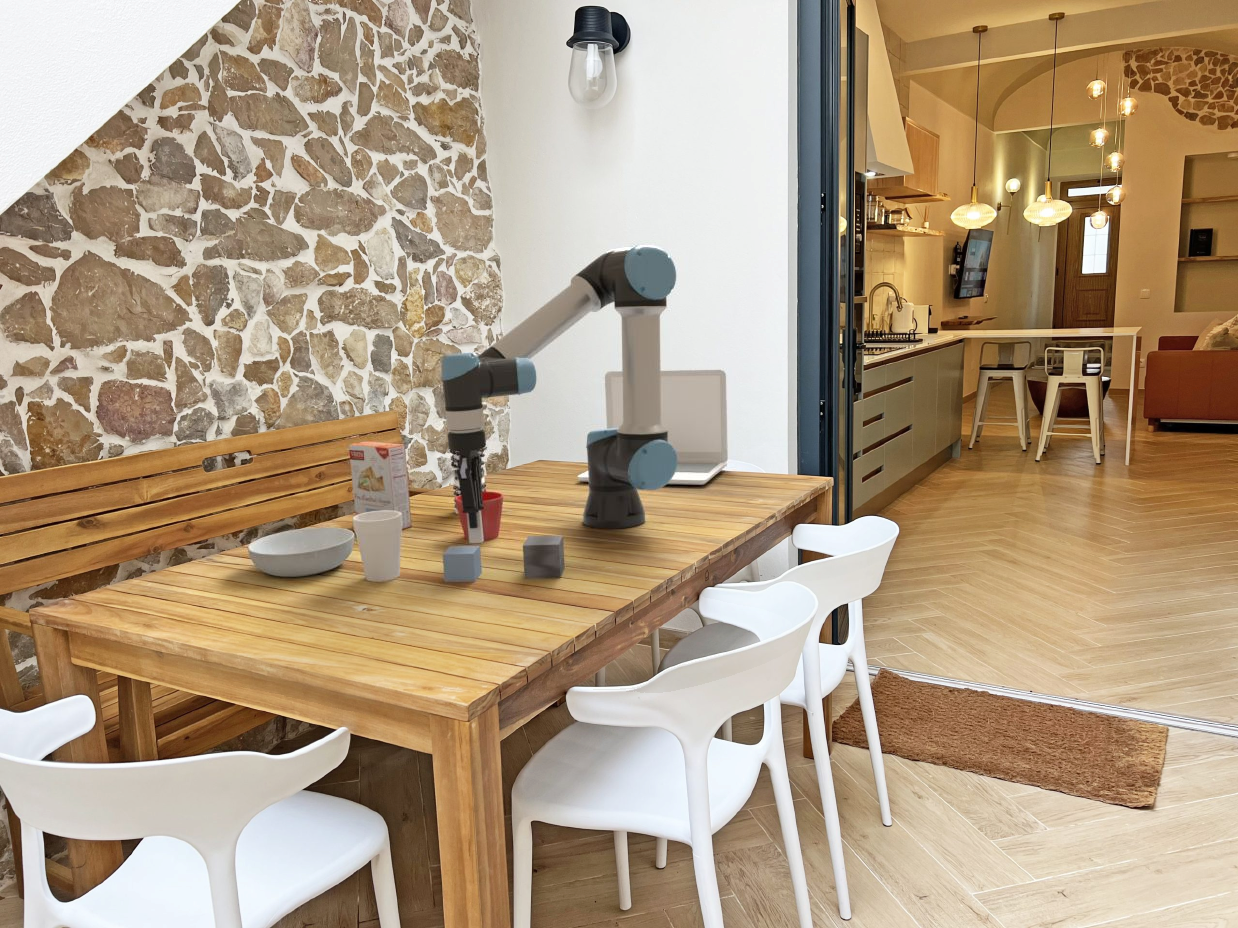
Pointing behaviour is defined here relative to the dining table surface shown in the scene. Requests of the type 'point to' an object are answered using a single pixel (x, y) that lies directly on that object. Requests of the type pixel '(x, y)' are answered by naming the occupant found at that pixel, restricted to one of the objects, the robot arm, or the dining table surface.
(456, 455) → the black and white cylinder
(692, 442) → the laptop
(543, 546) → the charcoal block
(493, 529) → the flower pot
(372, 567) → the foam cup
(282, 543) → the serving bowl
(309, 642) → the dining table surface
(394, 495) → the cracker box
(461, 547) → the slate-blue block
